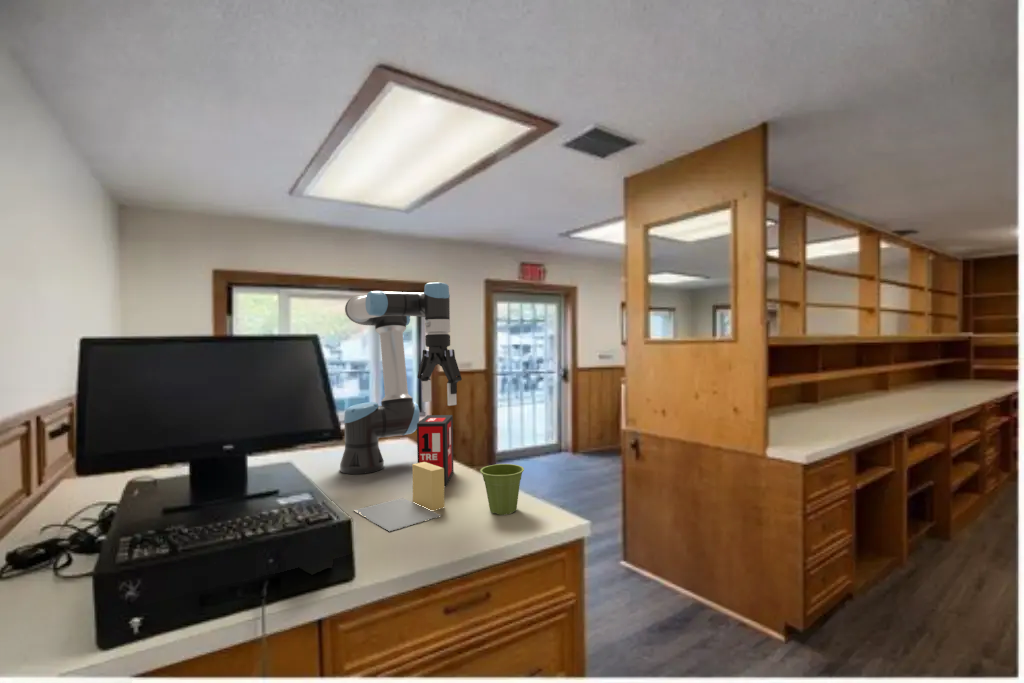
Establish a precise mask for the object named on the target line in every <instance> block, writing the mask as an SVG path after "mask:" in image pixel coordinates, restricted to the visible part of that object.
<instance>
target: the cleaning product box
mask: <svg viewBox="0 0 1024 683" xmlns="http://www.w3.org/2000/svg"><path fill="white" fill-rule="evenodd" d="M453 416H454V415H453V414H440V415H439V414H436V415H435V414H434V415H429V414H427V415H426V416H425V417H424V418H422V419H421V420H419V422H418V423H417V429H416V440H417V441H416V442H417V444H416V445H417V446H416V448H417V451H416V452H417V463H421V462H427V463H430V464H433V465H436V466H439V467H442V468H444V486H446V485H447V486H448V484H447V483H449V482H448V481H450V480H451V477H452V476H453V474H454V427H453V426H454V422H453V420H454V417H453ZM449 479H450V480H449ZM447 486H446V487H447Z"/></svg>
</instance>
